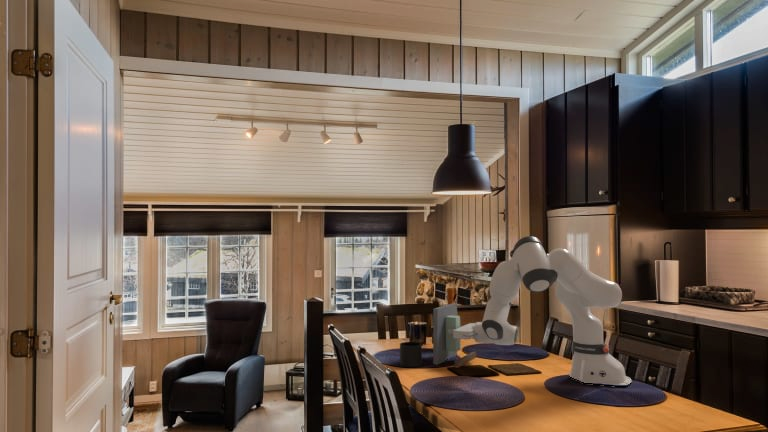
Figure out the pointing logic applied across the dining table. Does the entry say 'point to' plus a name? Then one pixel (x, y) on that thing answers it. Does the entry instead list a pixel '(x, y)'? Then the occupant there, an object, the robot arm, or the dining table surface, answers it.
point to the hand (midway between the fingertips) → (451, 329)
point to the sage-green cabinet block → (451, 342)
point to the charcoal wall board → (440, 336)
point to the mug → (410, 354)
